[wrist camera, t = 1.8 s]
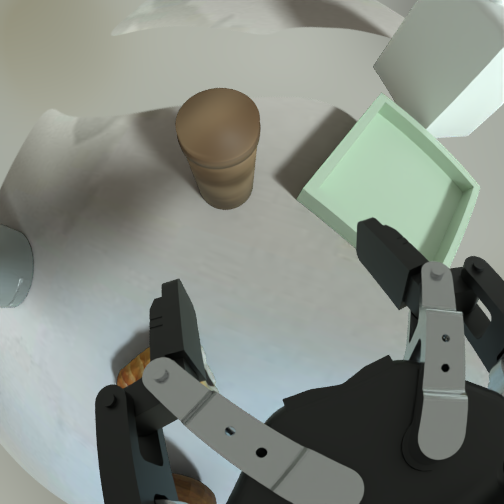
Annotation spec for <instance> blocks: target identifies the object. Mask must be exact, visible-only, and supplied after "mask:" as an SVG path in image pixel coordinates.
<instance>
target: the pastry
mask: <svg viewBox="0 0 504 504" xmlns="http://www.w3.org/2000/svg"><path fill="white" fill-rule="evenodd" d="M201 351H202V357H203V362H204V368H205V374H206V379H207V380H206V381H202V382H200V383H202V384H203V385H204V386H206V387H207V388H208V389H210V390H211V391H213V390H214V391H216V392H217V393H219V392H218V390H217V388H216V386H215V383H216V381H215V377H214V375H213V373H212V372H211V370H210V368H209V366H208V365H207V363H206V354H205V352H204V350H203V347H202V346H201ZM149 363H150V347H149V348H147V349H146V350H145V351H144V352H142V353H140V354H139V355H138V356H137V357H136V358H135V359H133V360H132V361H131V362H130V363H129V364H128V365H126V366H125V367H124V368H123V369H121V371H120V372H119V375H118V378H117V385H118V386H120V387H121V388H122V389H123V388H125V387H127V386H129V385H130V384H132V383H134V382H136V381H137V380H139V379H140V378H141V377H142V375H143V371H144V369H145V367H146V366H147V365H148V364H149Z"/></svg>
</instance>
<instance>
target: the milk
mask: <svg viewBox="0 0 504 504" xmlns="http://www.w3.org/2000/svg"><path fill="white" fill-rule="evenodd" d="M373 67H374V69H375V70H376V72H377V74H378V75H379V77H380V78H381V80H382V81H383V83H384V84H385V86H386V88H387V89H388V91H389V93H390V94H391V96H392V98H393V99H394V101H395V103H396V104H397V105H398V106H399V107H401V108H402V109H403V110H404V111H406V112H407V113H408V114H409V115H410V116H411V117H413V118H414V119H415V120H416V121H417V122H418V123H419V124H421V125H422V126H423V127H424V128H425V129H426V130H427V131H428V132H429V133H430V134H431V135H432V136H434V137H435V138H442V137H457V136H468V135H469V134H470V133H471V132H473V131H474V130H475V129H476V128H477V127H478V126H479V125H480V124H482V123H483V122H484V121H485V120H486V119H487V118H488V117H489V116H491V115H492V114H493V113H494V112H495V111H496V110H497V109H498V108H499V107H500V106H501V105H502V104H503V103H504V0H417V2H416V3H415V5H414V6H413V8H412V9H411V11H410V12H409V14H408V15H407V17H406V18H405V20H404V21H403V23H402V24H401V26H400V27H399V28H398V30H397V31H396V33H395V34H394V36H393V37H392V39H391V41H390V42H389V44H388V45H387V46H386V48H385V49H384V51H383V52H382V54H381V55H380V57H379V58H378V60H377V61H376V63H375V64H374V66H373Z"/></svg>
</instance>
